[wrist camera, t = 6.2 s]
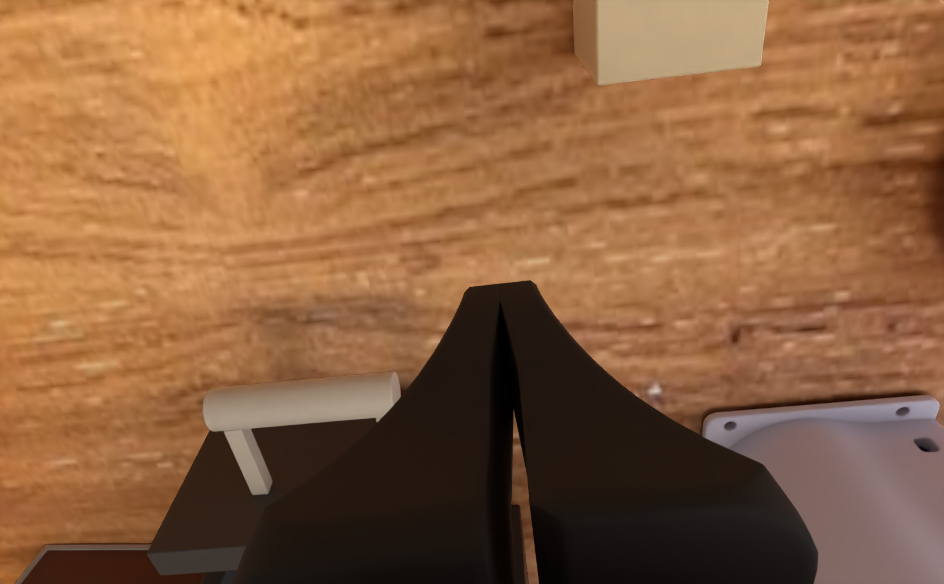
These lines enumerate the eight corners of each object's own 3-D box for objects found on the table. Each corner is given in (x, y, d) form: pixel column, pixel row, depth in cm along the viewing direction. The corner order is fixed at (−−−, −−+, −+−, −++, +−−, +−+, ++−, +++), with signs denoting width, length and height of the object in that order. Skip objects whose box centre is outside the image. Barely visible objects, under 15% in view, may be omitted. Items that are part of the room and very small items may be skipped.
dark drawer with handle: (175, 328, 23) (83, 455, 17) (478, 298, 22) (480, 422, 17) (296, 595, 32) (260, 734, 26) (516, 580, 31) (524, 719, 26)
